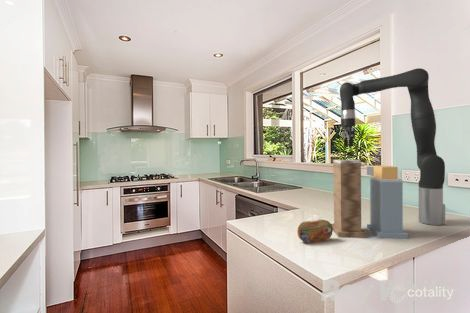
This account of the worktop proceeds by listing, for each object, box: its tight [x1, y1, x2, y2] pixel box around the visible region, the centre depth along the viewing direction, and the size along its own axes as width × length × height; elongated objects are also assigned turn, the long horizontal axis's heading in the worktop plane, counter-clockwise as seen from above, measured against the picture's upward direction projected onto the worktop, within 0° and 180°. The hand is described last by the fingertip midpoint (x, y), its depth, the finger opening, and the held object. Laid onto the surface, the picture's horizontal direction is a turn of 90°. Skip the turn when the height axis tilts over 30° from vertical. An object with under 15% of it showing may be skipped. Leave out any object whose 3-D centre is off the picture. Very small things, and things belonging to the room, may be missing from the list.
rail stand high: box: [330, 159, 367, 239], centre depth 105 cm, size 11×12×32 cm
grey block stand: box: [366, 176, 409, 240], centre depth 103 cm, size 11×12×24 cm
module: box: [366, 165, 399, 179], centre depth 109 cm, size 6×18×5 cm, turn 173°
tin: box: [297, 219, 334, 244], centre depth 97 cm, size 15×3×8 cm, turn 105°
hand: (348, 146), depth 138 cm, fingers open, 8 cm apart
